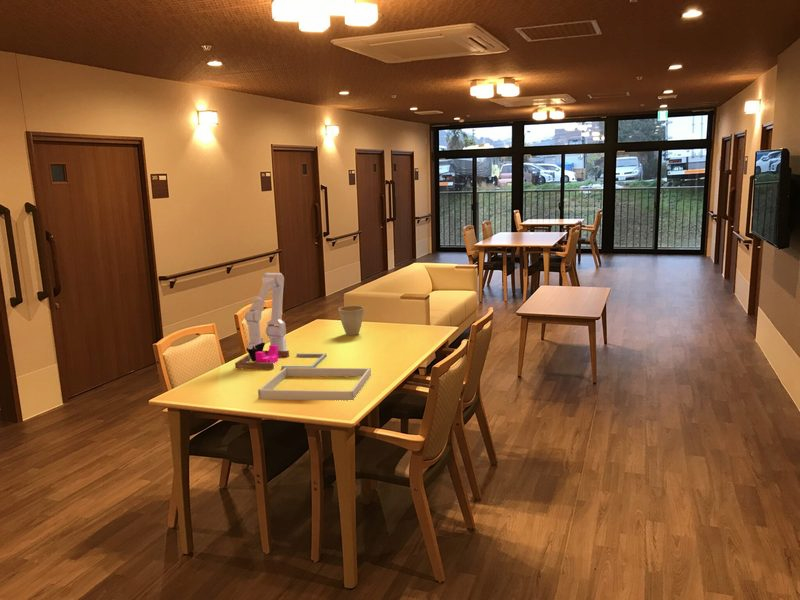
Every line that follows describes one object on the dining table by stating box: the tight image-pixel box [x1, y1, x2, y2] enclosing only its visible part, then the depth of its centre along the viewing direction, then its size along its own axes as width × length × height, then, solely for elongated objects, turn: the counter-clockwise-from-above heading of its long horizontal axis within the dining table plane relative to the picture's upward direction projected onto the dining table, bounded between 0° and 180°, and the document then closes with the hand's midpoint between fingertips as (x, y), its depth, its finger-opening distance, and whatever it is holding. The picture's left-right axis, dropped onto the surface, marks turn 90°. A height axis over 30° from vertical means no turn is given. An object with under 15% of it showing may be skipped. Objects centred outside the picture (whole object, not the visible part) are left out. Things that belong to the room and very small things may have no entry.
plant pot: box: [338, 305, 365, 336], centre depth 381 cm, size 15×15×16 cm
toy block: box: [255, 344, 279, 364], centre depth 330 cm, size 15×6×8 cm, turn 159°
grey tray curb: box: [257, 367, 372, 402], centre depth 287 cm, size 33×42×4 cm
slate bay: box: [280, 352, 328, 370], centre depth 327 cm, size 23×16×2 cm
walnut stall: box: [234, 350, 290, 370], centre depth 331 cm, size 23×20×3 cm
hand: (256, 358), depth 332 cm, fingers open, 7 cm apart
